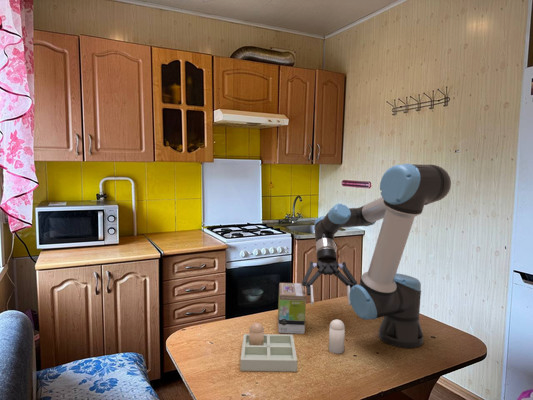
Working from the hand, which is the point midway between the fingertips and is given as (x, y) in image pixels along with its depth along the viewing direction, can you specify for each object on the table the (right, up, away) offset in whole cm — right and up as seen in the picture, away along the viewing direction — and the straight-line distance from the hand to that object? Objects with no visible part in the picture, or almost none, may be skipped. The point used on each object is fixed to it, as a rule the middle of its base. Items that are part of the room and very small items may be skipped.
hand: (331, 303), depth 133 cm
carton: (-23, -14, -13) cm, 29 cm away
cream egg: (0, -13, -7) cm, 15 cm away
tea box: (-14, -12, +11) cm, 21 cm away
